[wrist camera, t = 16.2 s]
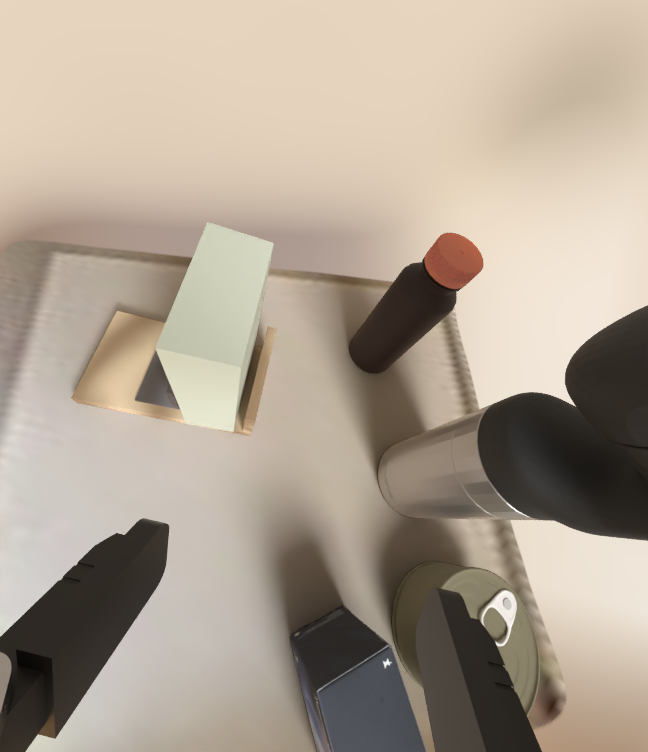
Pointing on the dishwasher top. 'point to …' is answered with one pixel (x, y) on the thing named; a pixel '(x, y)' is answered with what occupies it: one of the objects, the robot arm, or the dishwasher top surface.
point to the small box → (353, 688)
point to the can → (483, 602)
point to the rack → (154, 374)
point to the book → (215, 326)
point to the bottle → (415, 302)
